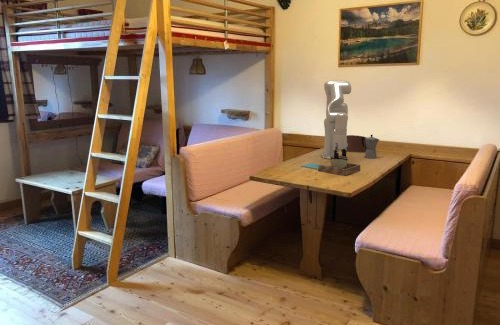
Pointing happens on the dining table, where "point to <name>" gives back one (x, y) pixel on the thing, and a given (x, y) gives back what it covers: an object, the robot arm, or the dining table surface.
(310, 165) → the mat
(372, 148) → the coffeepot
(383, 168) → the dining table surface
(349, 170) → the frame
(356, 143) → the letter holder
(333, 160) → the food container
